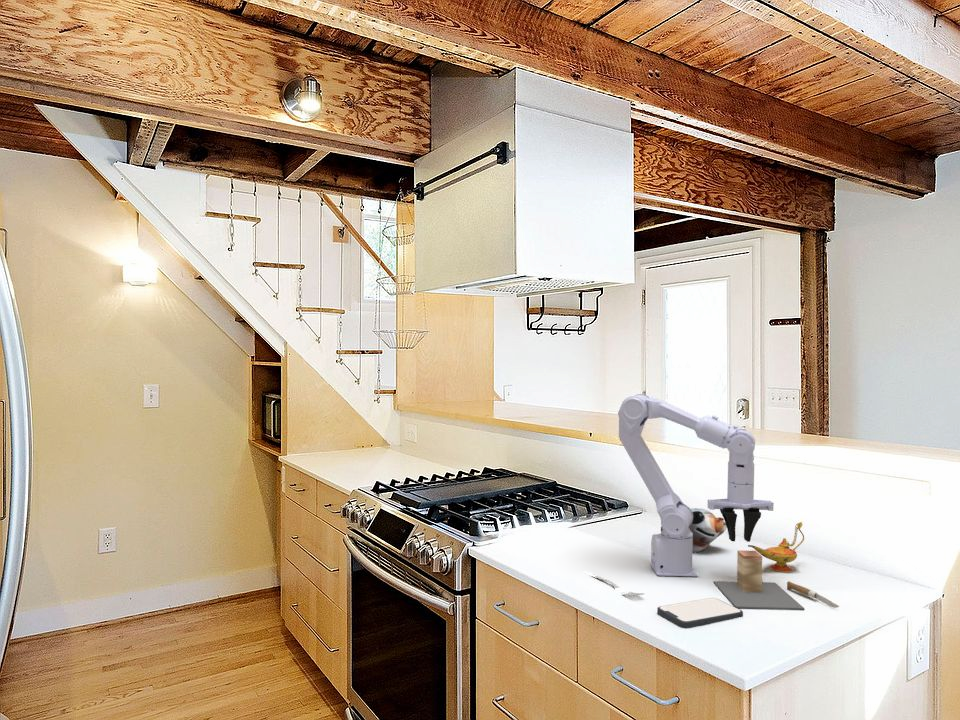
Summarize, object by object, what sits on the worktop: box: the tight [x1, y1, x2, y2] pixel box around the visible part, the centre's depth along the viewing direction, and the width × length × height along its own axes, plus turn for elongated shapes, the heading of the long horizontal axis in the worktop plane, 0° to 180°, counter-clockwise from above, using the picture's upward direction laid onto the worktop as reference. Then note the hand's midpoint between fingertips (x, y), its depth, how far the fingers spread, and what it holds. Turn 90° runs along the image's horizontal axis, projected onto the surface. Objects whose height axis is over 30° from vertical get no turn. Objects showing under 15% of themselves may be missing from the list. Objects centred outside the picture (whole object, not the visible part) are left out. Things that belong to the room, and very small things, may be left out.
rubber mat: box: [712, 580, 805, 611], centre depth 146 cm, size 14×15×1 cm
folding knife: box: [786, 580, 840, 609], centre depth 145 cm, size 14×2×2 cm, turn 22°
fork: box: [595, 575, 645, 597], centre depth 154 cm, size 3×24×2 cm, turn 27°
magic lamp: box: [747, 521, 805, 573], centre depth 164 cm, size 7×18×11 cm, turn 112°
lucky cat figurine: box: [660, 507, 727, 553], centre depth 180 cm, size 15×12×14 cm
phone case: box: [656, 597, 744, 629], centre depth 136 cm, size 9×2×16 cm
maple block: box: [736, 550, 763, 592], centre depth 149 cm, size 4×4×8 cm
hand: (739, 540), depth 156 cm, fingers open, 3 cm apart
